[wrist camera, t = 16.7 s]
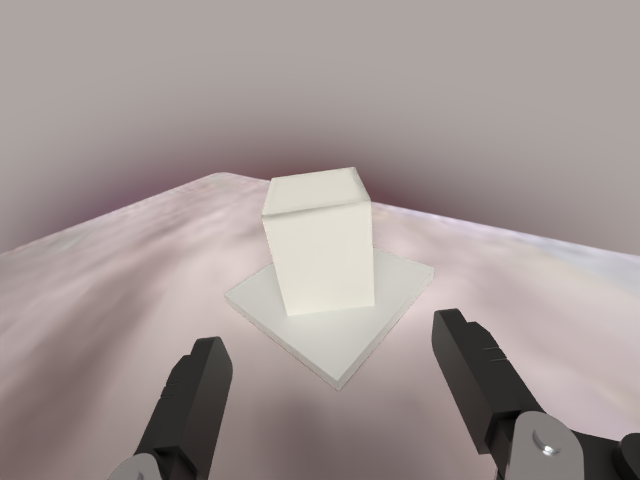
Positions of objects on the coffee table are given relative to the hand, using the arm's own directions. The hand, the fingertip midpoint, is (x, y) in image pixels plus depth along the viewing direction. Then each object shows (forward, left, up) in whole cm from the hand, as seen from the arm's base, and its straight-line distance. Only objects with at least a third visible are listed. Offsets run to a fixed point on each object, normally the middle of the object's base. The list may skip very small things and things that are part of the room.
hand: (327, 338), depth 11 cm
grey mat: (-7, +7, -7) cm, 13 cm away
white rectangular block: (-7, +7, -6) cm, 12 cm away
